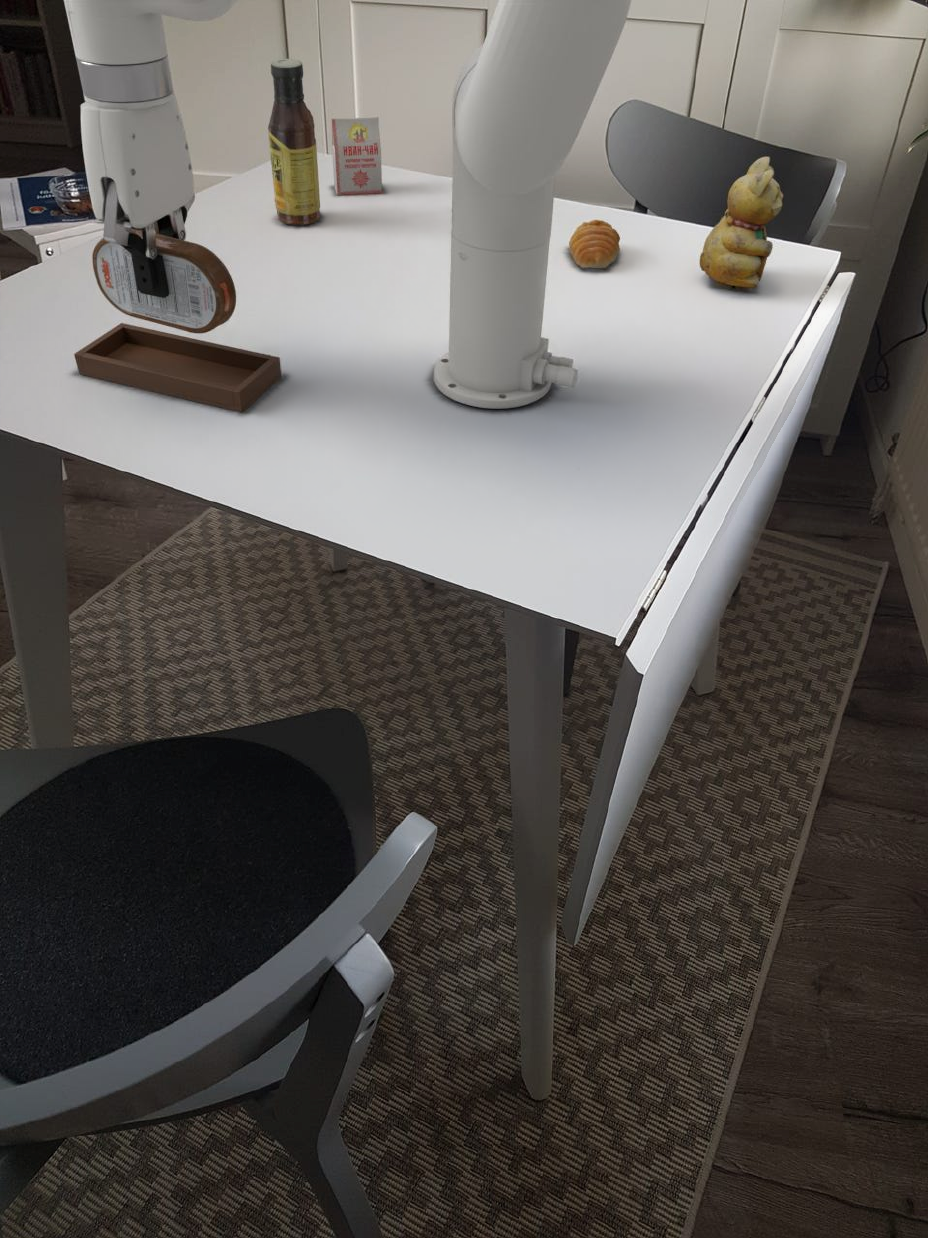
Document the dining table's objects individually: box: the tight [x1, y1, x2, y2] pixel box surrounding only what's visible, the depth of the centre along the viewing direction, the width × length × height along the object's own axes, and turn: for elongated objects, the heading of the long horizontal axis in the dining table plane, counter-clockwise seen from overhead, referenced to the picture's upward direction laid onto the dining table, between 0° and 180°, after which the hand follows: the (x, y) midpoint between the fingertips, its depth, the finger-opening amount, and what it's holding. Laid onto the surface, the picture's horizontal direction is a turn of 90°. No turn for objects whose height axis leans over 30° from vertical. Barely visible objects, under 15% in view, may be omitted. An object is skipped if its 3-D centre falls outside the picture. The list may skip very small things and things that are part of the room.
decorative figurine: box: [699, 156, 784, 293], centre depth 118 cm, size 10×8×15 cm
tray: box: [73, 322, 283, 413], centre depth 100 cm, size 20×8×2 cm, turn 69°
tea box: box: [331, 116, 383, 196], centre depth 142 cm, size 4×7×10 cm, turn 103°
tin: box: [91, 229, 237, 335], centre depth 94 cm, size 15×3×8 cm, turn 69°
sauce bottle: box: [267, 58, 321, 226], centre depth 129 cm, size 7×6×20 cm
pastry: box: [568, 219, 621, 269], centre depth 127 cm, size 9×7×4 cm
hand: (164, 286), depth 94 cm, fingers closed on tin, 2 cm apart
